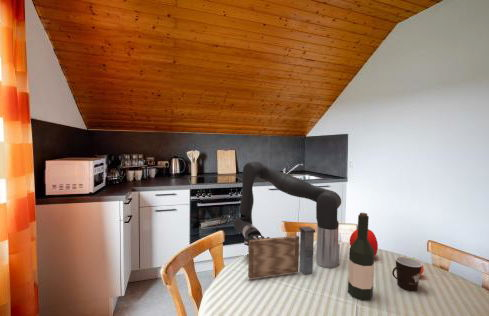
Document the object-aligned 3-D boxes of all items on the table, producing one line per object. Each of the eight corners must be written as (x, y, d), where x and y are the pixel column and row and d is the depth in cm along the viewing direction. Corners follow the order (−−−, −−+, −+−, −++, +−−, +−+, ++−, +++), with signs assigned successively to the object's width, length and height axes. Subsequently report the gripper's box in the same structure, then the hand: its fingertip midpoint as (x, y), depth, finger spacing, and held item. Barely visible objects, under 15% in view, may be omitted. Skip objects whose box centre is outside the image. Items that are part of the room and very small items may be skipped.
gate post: (307, 268, 110) (309, 226, 109) (313, 274, 106) (315, 230, 104) (298, 270, 109) (299, 227, 108) (303, 275, 104) (304, 230, 103)
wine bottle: (362, 303, 86) (366, 218, 85) (342, 290, 94) (346, 211, 92) (377, 297, 90) (381, 215, 89) (358, 285, 98) (361, 209, 96)
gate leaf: (296, 270, 107) (297, 235, 106) (298, 272, 105) (299, 237, 104) (248, 276, 101) (248, 240, 100) (249, 278, 99) (250, 241, 99)
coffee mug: (412, 281, 101) (413, 257, 101) (425, 294, 93) (427, 267, 92) (382, 279, 102) (383, 255, 102) (392, 291, 94) (394, 265, 93)
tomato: (380, 257, 123) (382, 228, 122) (372, 264, 115) (373, 234, 114) (354, 249, 132) (355, 222, 131) (345, 255, 124) (346, 227, 123)
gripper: (239, 227, 123) (249, 241, 107) (264, 226, 127) (278, 239, 110) (238, 242, 124) (248, 258, 107) (263, 240, 127) (277, 255, 111)
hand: (263, 248), depth 109 cm, fingers closed
